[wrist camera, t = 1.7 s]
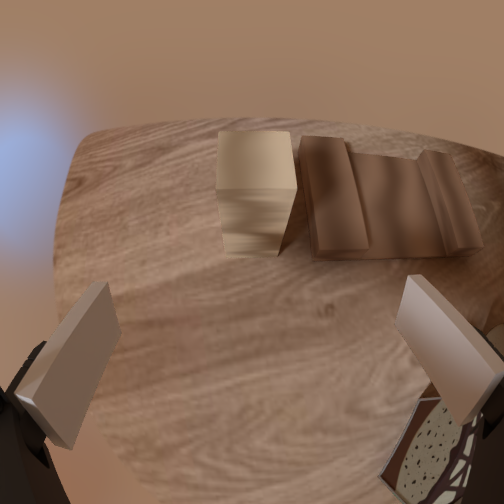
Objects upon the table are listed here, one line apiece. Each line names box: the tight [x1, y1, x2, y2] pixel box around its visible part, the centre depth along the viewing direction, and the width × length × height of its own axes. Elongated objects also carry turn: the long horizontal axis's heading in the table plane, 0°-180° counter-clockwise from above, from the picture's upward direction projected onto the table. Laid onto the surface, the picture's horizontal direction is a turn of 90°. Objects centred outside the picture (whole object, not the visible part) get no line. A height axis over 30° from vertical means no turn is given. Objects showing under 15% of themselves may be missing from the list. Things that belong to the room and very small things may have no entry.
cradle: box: [298, 136, 484, 261], centre depth 30 cm, size 22×14×3 cm, turn 92°
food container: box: [378, 397, 483, 504], centre depth 17 cm, size 12×6×10 cm, turn 151°
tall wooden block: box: [216, 131, 297, 258], centre depth 24 cm, size 5×5×12 cm
